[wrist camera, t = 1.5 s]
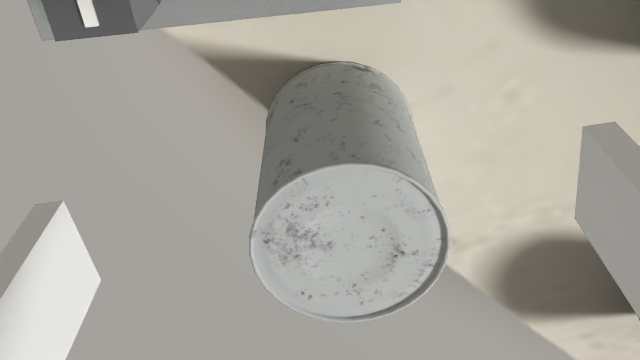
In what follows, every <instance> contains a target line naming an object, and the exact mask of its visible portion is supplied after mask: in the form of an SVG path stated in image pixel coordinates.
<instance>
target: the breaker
mask: <svg viewBox="0 0 640 360" xmlns="http://www.w3.org/2000/svg"><path fill="white" fill-rule="evenodd" d="M41 2H42V4H43V7H44V10H45V13H46V16H47V19H48V21H49V24H50V27H51V30H52V33H53V36H54V38H55V41H62V40H72V39H81V38H91V37H101V36H110V35H120V34H129V33H138V31H140V29H141V28H142V27H143V26H144V24H145V23H146V22H147V20H148V19H149V18H150V17H151V15H152V14H153V13H154V12H155V10H156V9H157V8H158V6H159V5H158V1H157V0H41Z"/></svg>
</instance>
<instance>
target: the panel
mask: <svg viewBox="0 0 640 360" xmlns="http://www.w3.org/2000/svg"><path fill="white" fill-rule="evenodd" d="M157 1H158V5H159V6H158V8H157V9H156V10H155V12H154V13H153V14H152V15H151V17H150V18H149V19H148V20H147V22H146V23H145V24H144V26H143V27H142V28H141V29H140V30H147V29H157V28H166V27H176V26H185V25H195V24H204V23H213V22H223V21H232V20H242V19H251V18H260V17H270V16H279V15H288V14H298V13H307V12H317V11H326V10H335V9H345V8H354V7H364V6H373V5H382V4H392V3H401V0H157ZM27 2H28V4H29V7H30V10H31V12H32V15H33V18H34V21H35V23H36V26H37V29H38V32H39V35H40V37H41V40H42V41H44V40H54V39H55V38H54V36H53V33H52V30H51V27H50V24H49V21H48V19H47V16H46V13H45V10H44V7H43V4H42V2H41V0H27Z"/></svg>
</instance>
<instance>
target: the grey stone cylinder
mask: <svg viewBox="0 0 640 360" xmlns="http://www.w3.org/2000/svg"><path fill="white" fill-rule="evenodd" d="M249 238H250V239H249V240H250V241H249V255H250V258H251V262H252V265H253V268H254V272H255V273H256V275H257V277H258V278H259V280H260V282H261V283H262V285H263V286H264V288H265V289H267V291H268V292H269V293H270V294H271V295H272V296H274V297H275V299H276V300H277V301H279V302H281V303H282V304H284V305H285V306H287V307H288V308H290V309H292V310H293V311H296V312H299V313H301V314H303V315H306V316H308V317H311V318H315V319H320V320H325V321H330V322H351V323H352V322H360V321H368V320H374V319H377V318H380V317H384V316H387V315H391V314H393V313H395V312H397V311H399V310H401V309H403V308H405V307H407V306H409V305H411V304H412V303H413V302H415V301H416V300H418V299H419V298H420V297H421V296H423V295H424V294H425V293H426V292H427V291H428V290H429V289H430V288H431V287H432V285H433V284H434V283H435V282H436V281H437V280H438V278H439V276H440V274H441V272H442V271H443V268H444V267H445V265H446V263H447V258H448V254H449V250H450V245H451V244H450V227H449V224H448V221H447V218H446V216H445V213H444V210H443V208H442V206H441V205H440V203H439V200H438V197H437V194H436V191H435V188H434V185H433V182H432V179H431V176H430V173H429V170H428V167H427V164H426V161H425V158H424V155H423V152H422V149H421V146H420V143H419V140H418V137H417V134H416V130H415V127H414V124H413V121H412V114H411V111H410V108H409V105H408V102H407V99H406V98H405V96H404V95H403V93H402V92H401V90H400V89H399V87H398V86H397V85H396V84H395V83H394V82H392V81H391V80H390V79H389V78H388V77H387V76H386V75H384V74H382V73H380V72H379V71H377V70H375V69H373V68H371V67H368V66H364V65H361V64H357V63H351V62H332V63H325V64H319V65H317V66H314V67H312V68H309V69H306V70H304V71H302V72H301V73H299V74H298V75H296V76H295V77H293V78H292V79H290V80H289V81H288V82H287V83H286V84H285V85H284V86H283V87H282V88H281V89H280V91H279V92H278V93H277V95H276V97H275V98H274V100H273V102H272V104H271V105H270V109H269V112H268V116H267V120H266V136H265V144H264V151H263V158H262V165H261V172H260V179H259V187H258V194H257V201H256V209H255V215H254V222H253V225H252V229H251V232H250V236H249Z"/></svg>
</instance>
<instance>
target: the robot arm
mask: <svg viewBox="0 0 640 360" xmlns="http://www.w3.org/2000/svg"><path fill="white" fill-rule="evenodd" d="M575 219H576V221H577V223H578V224H579V226H580V227H581V229H582V230H583V232H584V233H585V235H586V237H587V238H588V240H589V241H590V243H591V244H592V246H593V247H594V249H595V251H596V252H597V254H598V255H599V257H600V258H601V260H602V261H603V263H604V264H605V266H606V268H607V269H608V271H609V272H610V274H611V275H612V277H613V278H614V280H615V282H616V283H617V285H618V286H619V288H620V289H621V291H622V292H623V294H624V295H625V297H626V299H627V300H628V302H629V303H630V305H631V306H632V308H633V309H634V311H635V313H636V314H637V316H638V317H639V319H640V147H639V146H638V145H637V144H636V143H635V142H634V141H633V140H632V138H631V137H630V136H629V135H628V134H627V133H626V132H625V131H624V130H623V129H622V128H621V127H620V126H619V125H618V124H617V123H616V122H611V123H604V124H597V125H590V126H583V130H582V141H581V152H580V163H579V175H578V186H577V197H576V208H575ZM100 281H101V279H100V277H99V275H98V273H97V271H96V269H95V267H94V264H93V262H92V260H91V258H90V256H89V254H88V252H87V250H86V248H85V245H84V243H83V241H82V239H81V237H80V235H79V233H78V231H77V228H76V226H75V224H74V222H73V220H72V218H71V216H70V214H69V212H68V209H67V207H66V205H65V203H64V201H57V202H49V203H42V204H35V205H34V207H33V208H32V210H31V211H30V212H29V214H28V215H27V217H26V218H25V220H24V221H23V222H22V224H21V225H20V227H19V228H18V229H17V231H16V233H15V234H14V235H13V236H12V238H11V239H10V241H9V242H8V244H7V245H6V246H5V248H4V249H3V251H2V252H1V254H0V360H65V359H66V357H67V355H68V352H69V350H70V348H71V346H72V344H73V341H74V339H75V337H76V335H77V332H78V330H79V328H80V326H81V324H82V321H83V319H84V317H85V315H86V313H87V310H88V308H89V306H90V304H91V301H92V299H93V297H94V295H95V292H96V290H97V288H98V286H99V283H100Z"/></svg>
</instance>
